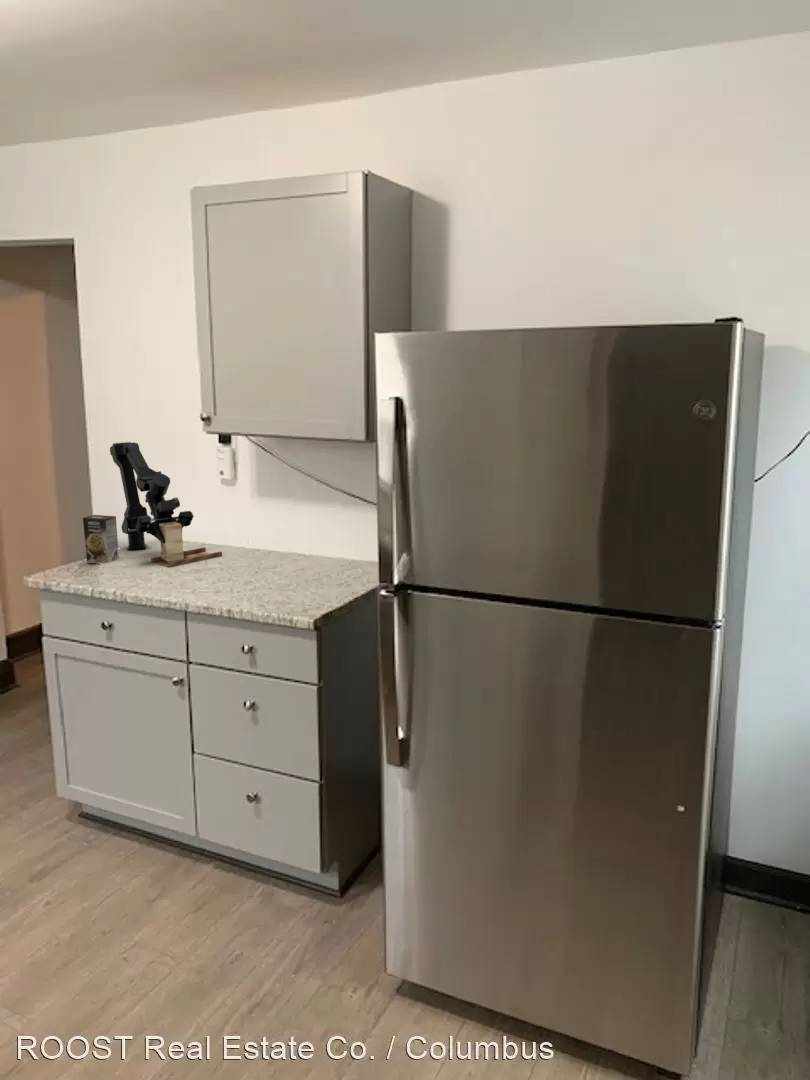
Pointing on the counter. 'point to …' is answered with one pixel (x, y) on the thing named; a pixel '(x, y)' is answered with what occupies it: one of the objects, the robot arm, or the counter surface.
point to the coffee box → (101, 538)
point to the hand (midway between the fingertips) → (173, 541)
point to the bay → (187, 557)
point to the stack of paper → (171, 541)
